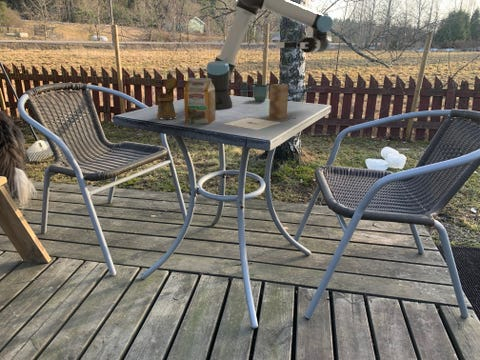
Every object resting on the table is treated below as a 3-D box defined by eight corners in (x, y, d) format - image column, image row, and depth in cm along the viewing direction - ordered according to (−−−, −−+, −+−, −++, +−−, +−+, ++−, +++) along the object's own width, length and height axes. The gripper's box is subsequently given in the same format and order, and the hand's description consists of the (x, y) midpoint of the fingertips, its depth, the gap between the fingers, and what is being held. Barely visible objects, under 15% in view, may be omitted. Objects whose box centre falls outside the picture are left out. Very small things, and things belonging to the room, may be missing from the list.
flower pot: (266, 102, 219) (267, 86, 215) (251, 101, 220) (252, 86, 217) (268, 100, 227) (269, 85, 223) (254, 99, 228) (254, 84, 225)
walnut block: (268, 117, 174) (270, 85, 169) (276, 115, 179) (277, 83, 173) (279, 119, 171) (281, 86, 165) (286, 117, 175) (288, 84, 170)
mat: (260, 118, 174) (260, 118, 174) (274, 114, 183) (274, 114, 183) (281, 122, 167) (281, 121, 167) (295, 118, 176) (295, 117, 176)
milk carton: (215, 120, 170) (214, 77, 164) (208, 125, 161) (207, 79, 154) (193, 119, 172) (191, 76, 166) (185, 123, 163) (183, 79, 156)
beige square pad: (223, 124, 162) (223, 123, 162) (248, 117, 175) (248, 117, 175) (256, 130, 152) (256, 129, 152) (281, 123, 165) (281, 122, 165)
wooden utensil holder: (184, 115, 181) (182, 76, 175) (170, 120, 169) (168, 79, 163) (167, 114, 184) (165, 76, 177) (153, 119, 172) (150, 79, 165)
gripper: (331, 53, 188) (310, 54, 172) (289, 51, 202) (266, 52, 187) (332, 37, 185) (312, 37, 170) (290, 37, 200) (267, 36, 184)
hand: (288, 45), depth 178 cm, fingers open, 13 cm apart
